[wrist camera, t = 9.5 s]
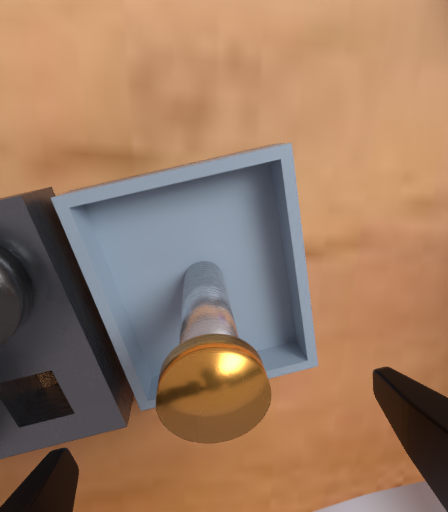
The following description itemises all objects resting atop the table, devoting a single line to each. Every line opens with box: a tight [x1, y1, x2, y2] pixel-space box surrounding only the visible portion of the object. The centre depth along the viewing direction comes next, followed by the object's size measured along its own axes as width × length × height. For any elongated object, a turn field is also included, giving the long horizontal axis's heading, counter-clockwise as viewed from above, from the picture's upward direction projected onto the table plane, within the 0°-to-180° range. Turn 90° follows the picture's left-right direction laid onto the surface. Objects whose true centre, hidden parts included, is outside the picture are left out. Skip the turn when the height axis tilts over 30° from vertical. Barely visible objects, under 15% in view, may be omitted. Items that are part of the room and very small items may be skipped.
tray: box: [51, 143, 318, 411], centre depth 17 cm, size 11×13×2 cm
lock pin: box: [156, 261, 271, 443], centre depth 13 cm, size 4×4×9 cm
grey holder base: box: [0, 187, 134, 459], centre depth 15 cm, size 8×14×5 cm, turn 12°
